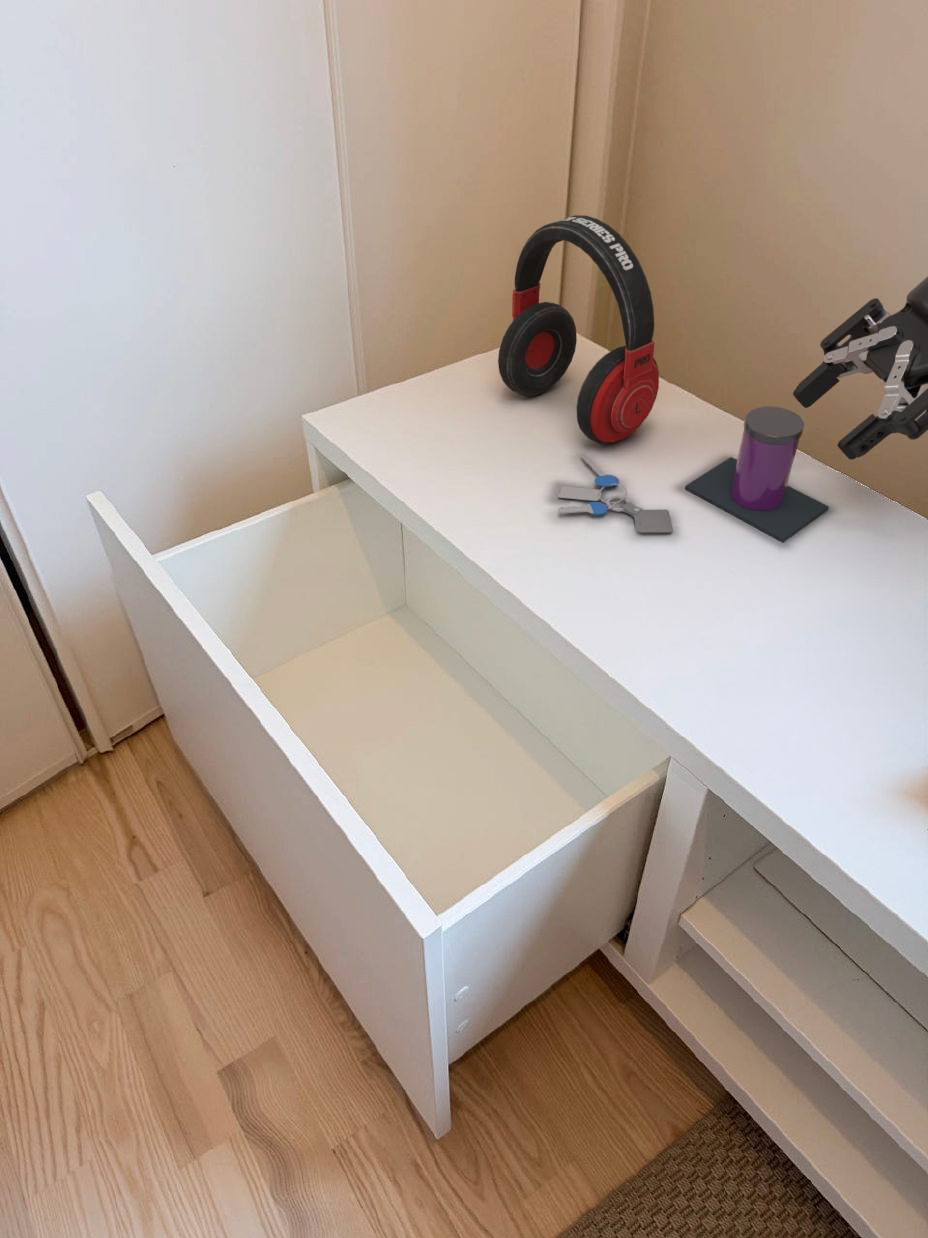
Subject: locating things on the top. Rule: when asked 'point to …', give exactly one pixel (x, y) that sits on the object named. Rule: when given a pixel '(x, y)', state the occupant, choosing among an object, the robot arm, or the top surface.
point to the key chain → (643, 518)
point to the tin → (766, 457)
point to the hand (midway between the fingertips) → (820, 426)
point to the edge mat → (773, 522)
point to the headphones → (548, 336)
